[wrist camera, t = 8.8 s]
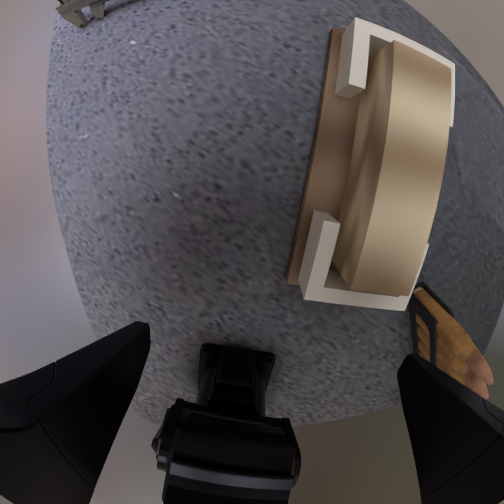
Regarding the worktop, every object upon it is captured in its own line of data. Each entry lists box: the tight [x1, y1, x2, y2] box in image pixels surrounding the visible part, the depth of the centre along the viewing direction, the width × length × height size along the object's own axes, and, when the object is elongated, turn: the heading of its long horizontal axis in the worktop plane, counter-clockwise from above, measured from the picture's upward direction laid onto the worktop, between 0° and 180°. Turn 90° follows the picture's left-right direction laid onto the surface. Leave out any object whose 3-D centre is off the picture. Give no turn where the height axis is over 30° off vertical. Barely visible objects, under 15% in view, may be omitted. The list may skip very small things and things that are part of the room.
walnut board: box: [286, 27, 373, 286], centre depth 17 cm, size 19×9×1 cm, turn 171°
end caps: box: [298, 17, 455, 311], centre depth 15 cm, size 18×8×3 cm, turn 171°
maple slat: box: [331, 40, 451, 296], centre depth 14 cm, size 14×4×5 cm, turn 171°
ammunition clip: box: [408, 283, 494, 400], centre depth 16 cm, size 11×2×12 cm, turn 25°
